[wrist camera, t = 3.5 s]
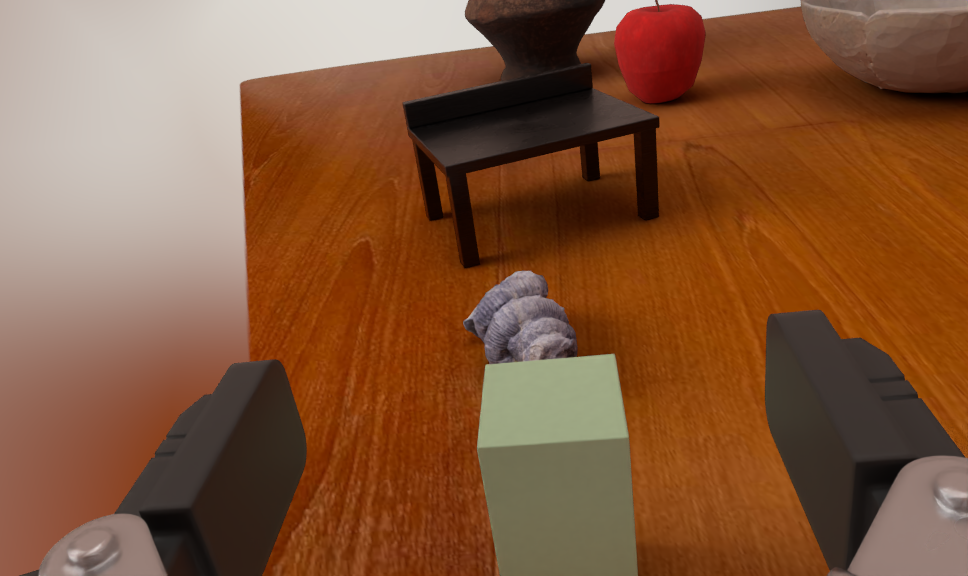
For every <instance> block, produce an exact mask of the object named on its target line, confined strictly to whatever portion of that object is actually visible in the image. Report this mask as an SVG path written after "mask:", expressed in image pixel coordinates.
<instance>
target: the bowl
mask: <svg viewBox="0 0 968 576" xmlns="http://www.w3.org/2000/svg"><path fill="white" fill-rule="evenodd" d="M801 9H802V12H803V19H804V21H805V23H806V26H807V30H808V31H809V33H810V35H811V37H812V38H813V40H814V41H815V42H816V43H817V44H818V46H819V47H820V48H821V49H822V50H823V51H824V52H825V53H826V55H827V56H829V57H830V58H831V59H832V61H833V62H834V63H835V64H836V65H838V66H839V67H840V68H842V69H843V70H844V71H846V72H847V73H849V74H851V75H853V76H854V77H856V78H858V79H860V80H862V81H864V82H865V83H870V84H872V85H874V86H877V87H879V88H880V89H884V88H885V89H890V90H896V91H901V92H911V93H944V92H948V93H962V92H968V0H801Z"/></svg>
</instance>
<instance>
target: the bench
mask: <svg viewBox="0 0 968 576" xmlns="http://www.w3.org/2000/svg"><path fill="white" fill-rule="evenodd" d="M403 108H404V113H405V119H406V124H407V130H408V135H409V137H410V138H411V139H412V141H413V146H414V152H415V157H416V162H417V168H418V173H419V178H420V184H421V189H422V195H423V200H424V205H425V211H426V216H427V217H428V219H429V220H430V221H431V220H435V219H439V218H443V212H442V207H441V201H440V195H439V189H438V184H437V178H436V172H435V167H434V164H435V165H436V166H437V167H438V168H439V169H440V170H441V171H442V173H443V174H444V175H445V176H446V181H447V187H448V193H449V199H450V205H451V211H452V217H453V223H454V229H455V235H456V240H457V246H458V252H459V258H460V262H461V264H462V265H463V266H464V268H467V267H471V266H475V265H478V264H480V260H479V254H478V248H477V241H476V235H475V229H474V222H473V216H472V209H471V203H470V197H469V190H468V184H467V177H466V173H469V172H474V171H478V170H482V169H486V168H490V167H495V166H499V165H503V164H507V163H511V162H516V161H520V160H524V159H528V158H532V157H537V156H541V155H545V154H549V153H553V152H558V151H562V150H566V149H570V148H574V147H579V146H580V154H581V166H582V177H583V178H584V179H585V180H587V181H591V180H595V179H599V178H600V170H599V157H598V143H597V142H600V141H604V140H608V139H612V138H617V137H621V136H625V135H629V134H633V133H634V148H635V168H636V188H637V208H638V216H639V217H641V218H642V219H644V220H649V219H653V218H656V217H659V206H658V178H657V151H656V128H659V117H658V116H656V115H654V114H651V113H649V112H647V111H644V110H642V109H640V108H637V107H635V106H633V105H630V104H628V103H626V102H623V101H621V100H619V99H616V98H614V97H612V96H609V95H607V94H605V93H602V92H600V91H598V90H595V89H593V85H592V72H591V64H589V63H584V64H579V65H575V66H570V67H565V68H561V69H556V70H551V71H547V72H542V73H537V74H533V75H528V76H523V77H519V78H514V79H509V80H505V81H500V82H495V83H491V84H486V85H481V86H476V87H472V88H467V89H462V90H458V91H453V92H448V93H444V94H439V95H434V96H430V97H425V98H420V99H416V100H411V101H406V102H403Z"/></svg>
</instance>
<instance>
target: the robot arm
mask: <svg viewBox="0 0 968 576" xmlns="http://www.w3.org/2000/svg"><path fill="white" fill-rule="evenodd" d="M765 405H766V413H767V419H768V424H769V428H770V431H771V434H772V437H773V439H774V441H775V444H776V446H777V448H778V451H779V453H780V455H781V458H782V460H783V462H784V465H785V467H786V469H787V472H788V474H789V476H790V479H791V481H792V483H793V486H794V488H795V490H796V493H797V495H798V497H799V500H800V502H801V504H802V507H803V509H804V511H805V514H806V516H807V518H808V521H809V523H810V525H811V528H812V530H813V532H814V535H815V537H816V539H817V542H818V544H819V546H820V549H821V551H822V553H823V556H824V558H825V560H826V563H827V565H828V567H829V570H830V572H829V573H828V575H827V576H968V459H967V458H965V456H964V455H963V454H962V452H961V451H960V450H959V448H958V447H957V446H956V444H955V443H954V442H953V440H952V439H951V438H950V436H949V435H948V434H947V432H946V431H945V430H944V428H943V427H942V426H941V424H940V423H939V422H938V420H937V419H936V418H935V416H934V415H933V414H932V412H931V411H930V410H929V408H928V407H927V406H926V404H925V403H924V402H923V400H922V399H921V398H918V394H917V392H916V391H915V390H914V388H913V387H912V386H911V384H910V383H909V382H908V380H906V381H905V378H904V375H903V374H902V372H901V371H900V370H899V368H898V367H897V366H896V364H895V363H894V362H893V360H892V359H891V358H890V356H889V355H888V354H886V353H885V352H883V351H881V350H880V349H878V348H876V347H875V346H873V345H872V344H870V343H868V342H867V341H865V340H863V339H862V338H852V339H841V338H840V337H839V335H838V334H837V332H836V331H835V329H834V328H833V326H832V325H831V323H830V322H829V320H828V319H827V317H826V316H825V314H824V313H823V312H822V311H821V310H810V311H800V312H789V313H778V314H771V315H770V316H769V318H768V321H767V336H766V376H765ZM166 437H167V439H166V440H163V442H162V443H161V445H160V446H159V448H158V449H157V451H156V452H155V458H151V460H150V461H149V463H148V464H147V466H146V467H145V469H144V470H143V472H142V473H141V475H140V476H139V478H138V479H137V481H136V482H135V484H134V485H133V487H132V488H131V490H130V491H129V493H128V494H127V496H126V497H125V499H124V500H123V502H122V503H121V505H120V506H119V508H118V509H117V511H116V512H115V514H113V515H109V516H105V517H101V518H98V519H95V520H93V521H90V522H88V523H86V524H84V525H82V526H80V527H78V528H77V529H75V530H73V531H72V532H70V533H69V534H67V535H66V536H65V537H63V538H62V539H61V540H60V541H59V542H58V543H57V544H56V545H54V546H53V548H52V549H51V550H50V551H49V552H48V553H47V555H46V557H45V558H44V559H43V562H42V564H41V566H40V569H39V570H36V571H33V572H30V573H27V574H23V575H20V576H262V574H263V572H264V569H265V567H266V564H267V562H268V559H269V557H270V554H271V552H272V549H273V546H274V544H275V541H276V539H277V536H278V534H279V531H280V529H281V526H282V524H283V521H284V519H285V516H286V513H287V511H288V508H289V506H290V503H291V501H292V498H293V496H294V493H295V491H296V488H297V486H298V483H299V481H300V478H301V475H302V473H303V470H304V467H305V463H306V449H307V448H306V438H305V433H304V429H303V426H302V423H301V419H300V416H299V413H298V410H297V407H296V403H295V400H294V397H293V394H292V391H291V387H290V384H289V381H288V378H287V375H286V372H285V369H284V367H283V365H282V364H281V362H280V361H278V360H264V361H254V362H243V363H234V364H232V365H231V366H230V367H229V368H228V370H227V372H226V373H225V375H224V376H223V378H222V380H221V381H220V383H219V384H218V386H217V387H216V389H215V391H214V392H213V394H210V395H204V396H203V397H201V398H200V399H199V400H198V401H197V402H195V403H194V404H193V405H192V406H190V407H189V408H188V409H187V410H185V412H183V413H182V414H181V415H180V416H179V418H178V419H177V421H176V422H175V424H174V425H173V427H172V428H171V430H170V431H169V433H168V434H167V436H166Z"/></svg>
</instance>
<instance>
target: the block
mask: <svg viewBox="0 0 968 576" xmlns="http://www.w3.org/2000/svg"><path fill="white" fill-rule="evenodd" d="M477 451H478V457H479V462H480V468H481V473H482V479H483V484H484V490H485V495H486V501H487V506H488V512H489V517H490V523H491V529H492V534H493V540H494V545H495V551H496V556H497V562H498V567H499V573H500V576H638V568H637V552H636V537H635V522H634V506H633V491H632V476H631V460H630V445H629V434H628V428H627V422H626V417H625V411H624V405H623V399H622V393H621V387H620V381H619V375H618V369H617V363H616V357H615V354H607V355H595V356H583V357H571V358H559V359H547V360H535V361H523V362H512V363H500V364H488V365H486V366H485V374H484V383H483V393H482V403H481V413H480V423H479V433H478V443H477Z"/></svg>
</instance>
